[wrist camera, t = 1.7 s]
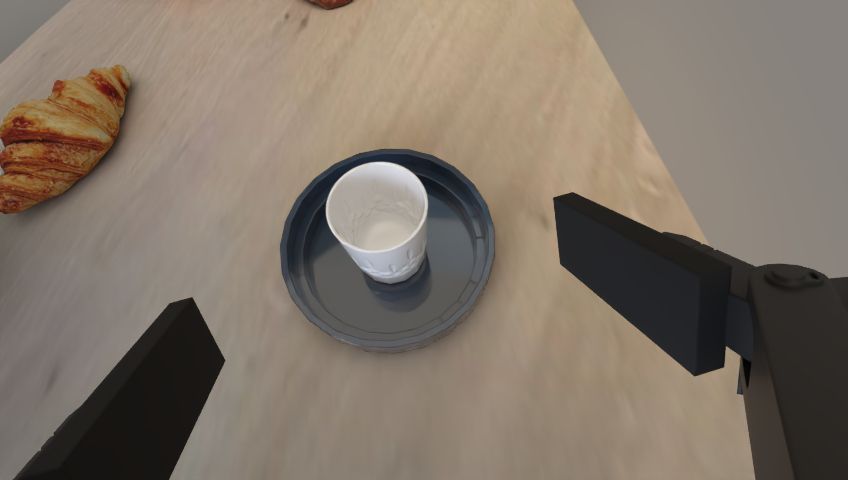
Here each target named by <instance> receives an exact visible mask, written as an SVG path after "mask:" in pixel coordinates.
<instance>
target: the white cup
mask: <svg viewBox="0 0 848 480" xmlns="http://www.w3.org/2000/svg"><path fill="white" fill-rule="evenodd" d="M326 218H327V222H328V225H329V227H330V229H331V231H332V232H333V234H334V235H335V237H336V238H337V239H338V240H339V242H340V243H341V244H342V246H343V247H344V249H345V250H346V251H347V253H348V254H349V255H350V257H351V258H352V259H353V260H354V261H355V262H356V264H357V265H358V266H359V267H360V268H361V269H362V270H363V272H365V273H366V274H367V275H368V276H370V277H371V278H372V279H373V280H375V281H378V282H383V283H388V284H392V283H397V282H401V281H405V280H407V279H408V278H409V277H411V276H412V275H413V274H414V273H416V272H417V271H418V269H419V267H420V265H421V264H422V262H423V260H424V257H425V246H426V239H427V218H428V198H427V194H426V191H425V188H424V186H423V184H422V183H421V181H420V180H419V179H418V177H417V176H416V175H415V174H413V173H412V172H411V171H410V170H408V169H406V168H405V167H402V166H400V165H397V164H394V163H389V162H371V163H366V164H363V165H360V166H357V167H355V168H353V169H351V170H350V171H348V172H347V173H345V174H344V175H343V176H342V177H341V178H340V179H339V180H338V181H337V182H336V183H335V185H334V186H333V188H332V189H331V191H330V193H329V196H328V199H327V203H326Z"/></svg>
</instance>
